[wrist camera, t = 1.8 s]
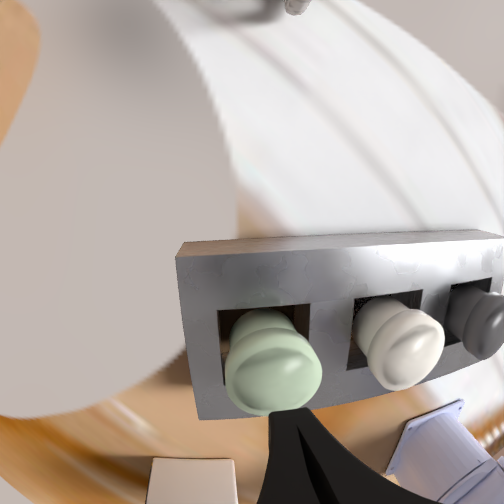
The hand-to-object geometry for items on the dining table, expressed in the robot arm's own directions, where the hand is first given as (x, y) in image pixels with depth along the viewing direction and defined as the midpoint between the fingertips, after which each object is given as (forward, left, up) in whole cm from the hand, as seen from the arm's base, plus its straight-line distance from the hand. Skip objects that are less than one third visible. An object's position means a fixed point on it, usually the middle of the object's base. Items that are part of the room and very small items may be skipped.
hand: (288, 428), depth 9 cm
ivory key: (0, -7, -7) cm, 10 cm away
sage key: (0, 0, -7) cm, 7 cm away
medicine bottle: (-17, +6, -10) cm, 20 cm away
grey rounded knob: (0, -14, -7) cm, 16 cm away
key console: (0, -7, -9) cm, 12 cm away
